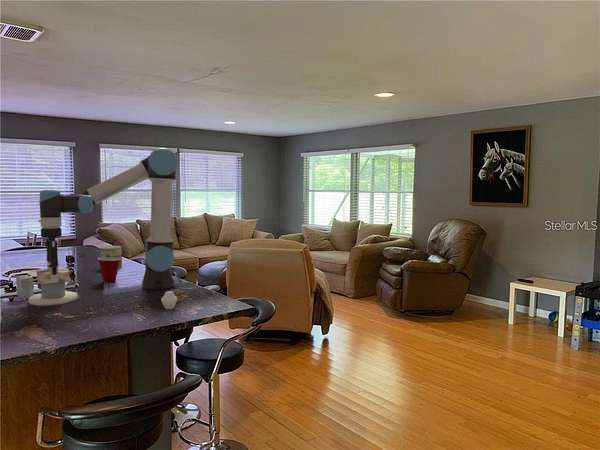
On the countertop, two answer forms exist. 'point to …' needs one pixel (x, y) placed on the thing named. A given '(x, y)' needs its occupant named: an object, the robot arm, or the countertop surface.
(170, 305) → the muffin
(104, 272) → the plastic cup
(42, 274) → the slotted arch block
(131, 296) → the countertop surface
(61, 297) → the post stand
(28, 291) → the medicine box
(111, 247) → the canned food
